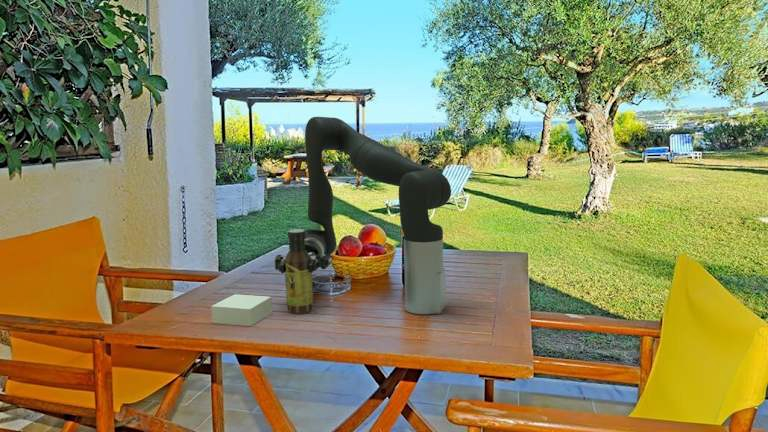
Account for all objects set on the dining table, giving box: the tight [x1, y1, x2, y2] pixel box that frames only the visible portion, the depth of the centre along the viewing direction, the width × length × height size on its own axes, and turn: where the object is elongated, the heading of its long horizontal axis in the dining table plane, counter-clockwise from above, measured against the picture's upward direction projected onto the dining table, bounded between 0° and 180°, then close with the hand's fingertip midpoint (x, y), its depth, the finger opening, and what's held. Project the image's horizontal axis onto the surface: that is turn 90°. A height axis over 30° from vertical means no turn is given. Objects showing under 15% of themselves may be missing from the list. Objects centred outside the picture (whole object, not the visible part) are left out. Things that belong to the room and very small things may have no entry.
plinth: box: [210, 293, 273, 327], centre depth 138 cm, size 10×10×4 cm
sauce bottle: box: [284, 228, 314, 315], centre depth 141 cm, size 6×6×20 cm
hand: (296, 268), depth 138 cm, fingers closed on sauce bottle, 6 cm apart
